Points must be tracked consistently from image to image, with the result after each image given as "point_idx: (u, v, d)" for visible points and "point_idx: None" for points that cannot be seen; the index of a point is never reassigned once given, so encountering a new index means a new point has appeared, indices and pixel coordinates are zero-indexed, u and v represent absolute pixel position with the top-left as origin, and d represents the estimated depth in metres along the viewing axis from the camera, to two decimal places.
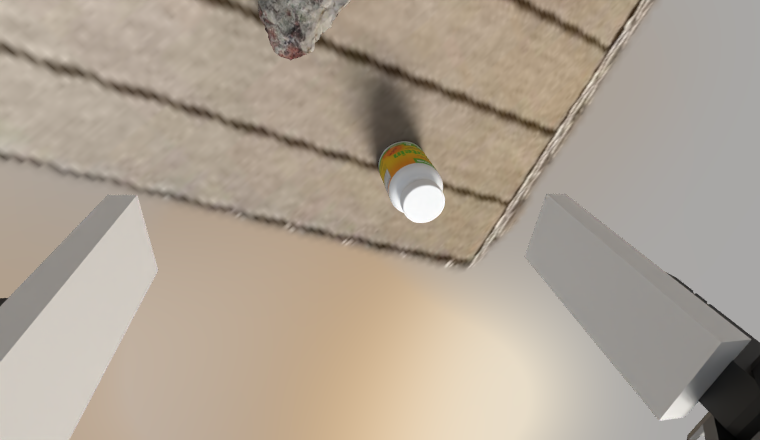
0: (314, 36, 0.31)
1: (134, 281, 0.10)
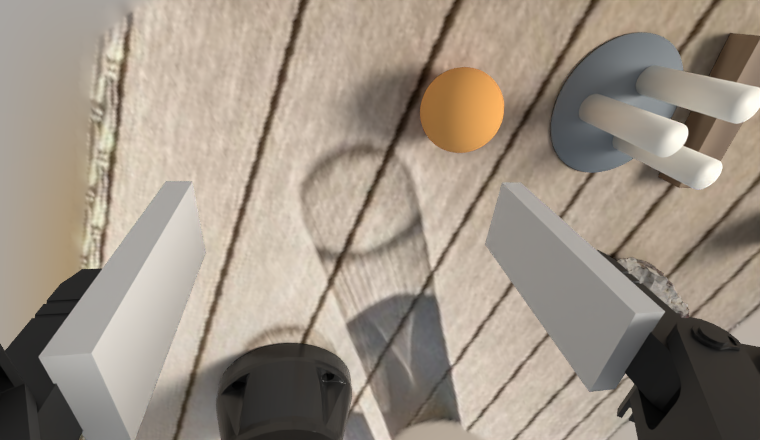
0: (680, 304, 0.44)
1: (191, 260, 0.11)
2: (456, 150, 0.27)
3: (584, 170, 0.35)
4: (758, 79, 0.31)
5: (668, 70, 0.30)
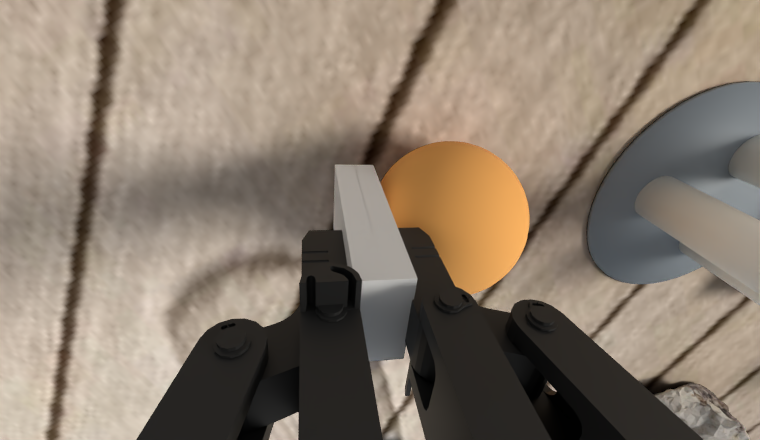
0: None
1: None
2: None
3: (632, 282, 0.23)
4: None
5: None
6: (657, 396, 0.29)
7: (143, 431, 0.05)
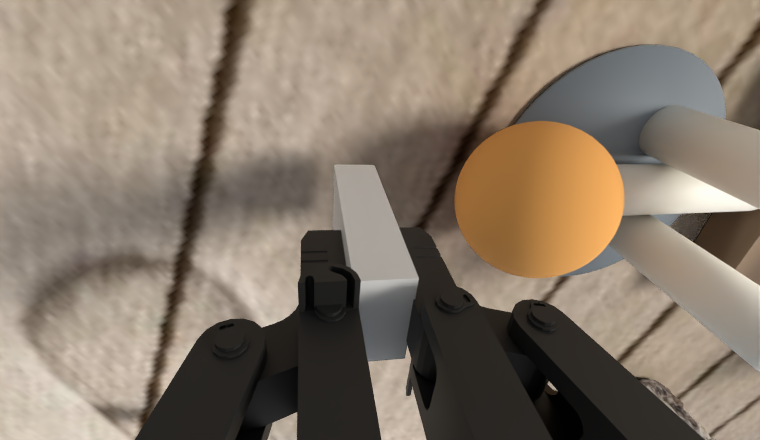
0: None
1: None
2: None
3: None
4: None
5: (703, 118, 0.15)
6: None
7: (141, 432, 0.05)
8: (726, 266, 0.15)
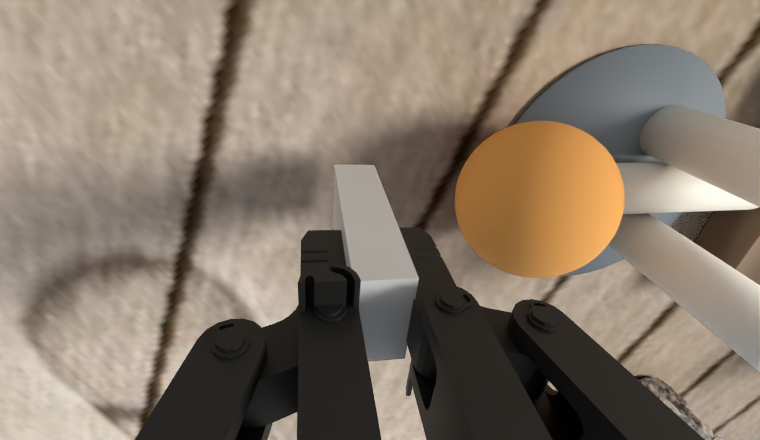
0: None
1: None
2: None
3: None
4: None
5: (704, 118, 0.15)
6: None
7: (141, 432, 0.05)
8: (726, 266, 0.15)
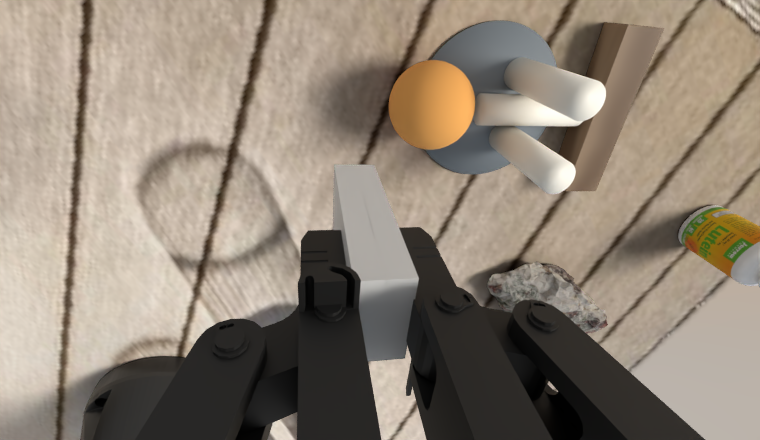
0: (596, 311, 0.41)
1: None
2: None
3: (462, 172, 0.33)
4: (634, 72, 0.28)
5: (529, 62, 0.27)
6: (515, 270, 0.39)
7: (141, 432, 0.05)
8: (540, 144, 0.27)
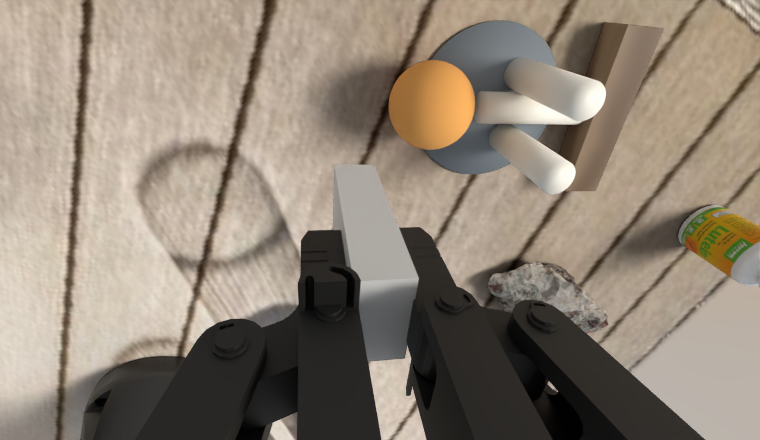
0: (597, 310, 0.41)
1: None
2: None
3: (462, 172, 0.33)
4: (634, 72, 0.28)
5: (529, 62, 0.27)
6: (515, 269, 0.39)
7: (141, 431, 0.05)
8: (540, 144, 0.27)
